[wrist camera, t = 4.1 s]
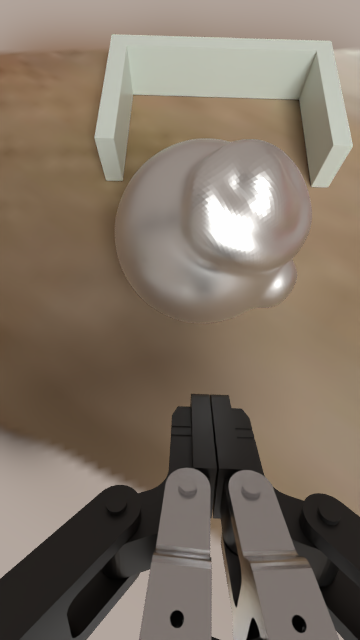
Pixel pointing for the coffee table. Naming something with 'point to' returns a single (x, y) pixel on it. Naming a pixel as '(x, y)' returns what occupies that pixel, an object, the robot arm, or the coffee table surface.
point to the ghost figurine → (213, 228)
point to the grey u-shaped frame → (226, 88)
